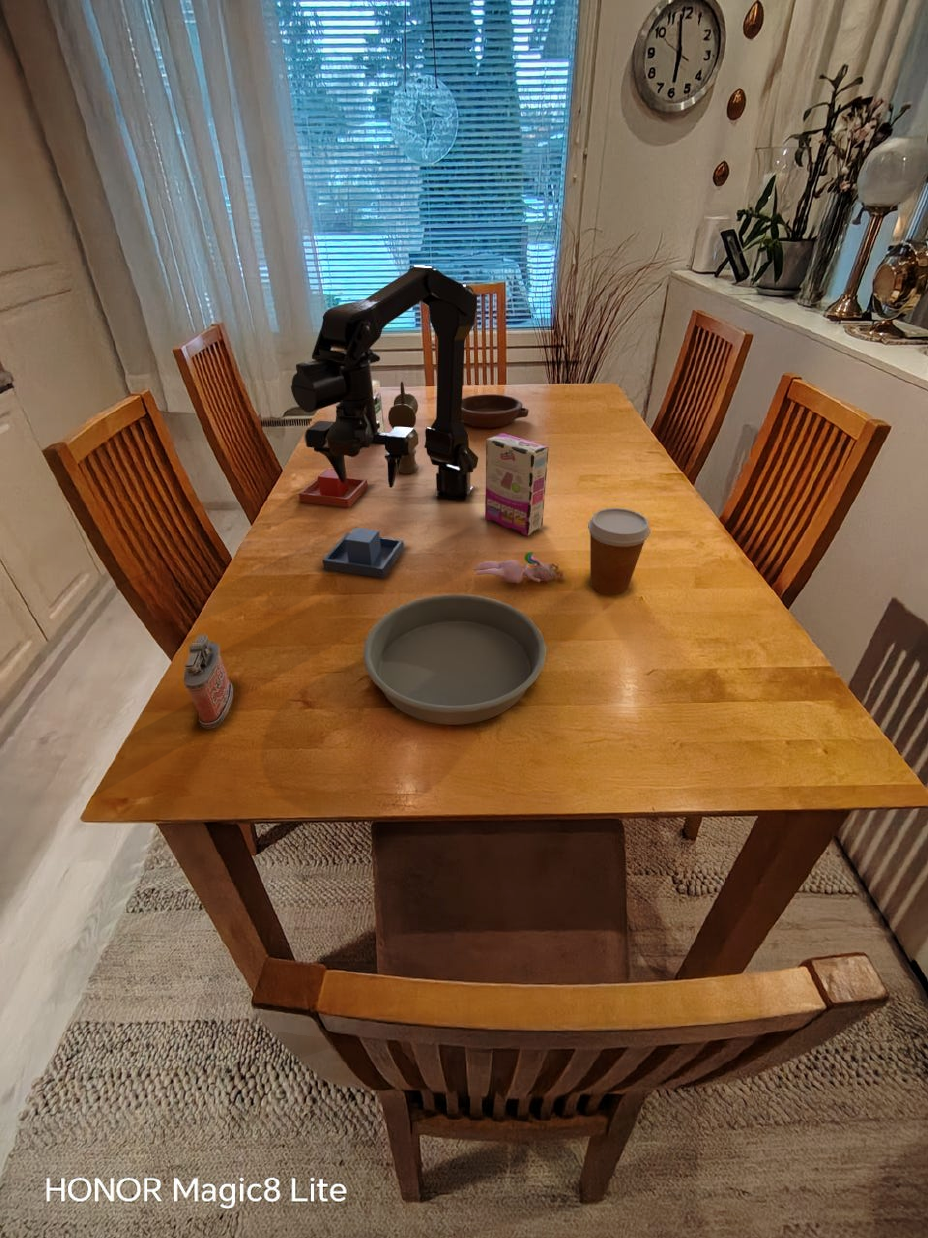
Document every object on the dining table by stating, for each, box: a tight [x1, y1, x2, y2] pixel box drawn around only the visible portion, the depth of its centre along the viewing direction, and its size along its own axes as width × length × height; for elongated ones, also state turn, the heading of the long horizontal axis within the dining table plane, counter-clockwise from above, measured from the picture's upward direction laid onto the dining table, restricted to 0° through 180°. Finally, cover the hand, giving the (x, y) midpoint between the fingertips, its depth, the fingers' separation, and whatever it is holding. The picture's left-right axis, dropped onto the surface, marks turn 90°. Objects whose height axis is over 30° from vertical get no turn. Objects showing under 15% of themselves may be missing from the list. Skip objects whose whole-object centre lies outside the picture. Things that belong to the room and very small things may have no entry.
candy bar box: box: [484, 432, 550, 537], centre depth 111 cm, size 11×5×16 cm, turn 47°
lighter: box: [183, 634, 234, 730], centre depth 74 cm, size 8×3×10 cm, turn 5°
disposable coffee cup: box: [587, 507, 651, 596], centre depth 95 cm, size 10×10×12 cm
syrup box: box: [372, 379, 386, 446], centre depth 148 cm, size 6×6×14 cm
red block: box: [317, 467, 349, 497], centre depth 125 cm, size 4×4×4 cm
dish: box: [461, 393, 530, 429], centre depth 162 cm, size 18×22×5 cm
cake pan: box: [362, 593, 547, 726], centre depth 81 cm, size 25×25×4 cm
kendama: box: [387, 381, 419, 474], centre depth 131 cm, size 6×10×20 cm, turn 179°
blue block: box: [345, 527, 381, 565], centre depth 104 cm, size 4×4×4 cm
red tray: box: [298, 476, 369, 509], centre depth 127 cm, size 11×10×2 cm
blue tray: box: [322, 532, 405, 579], centre depth 105 cm, size 11×10×2 cm
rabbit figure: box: [473, 551, 564, 585], centre depth 98 cm, size 6×6×15 cm
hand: (367, 484), depth 105 cm, fingers open, 9 cm apart
